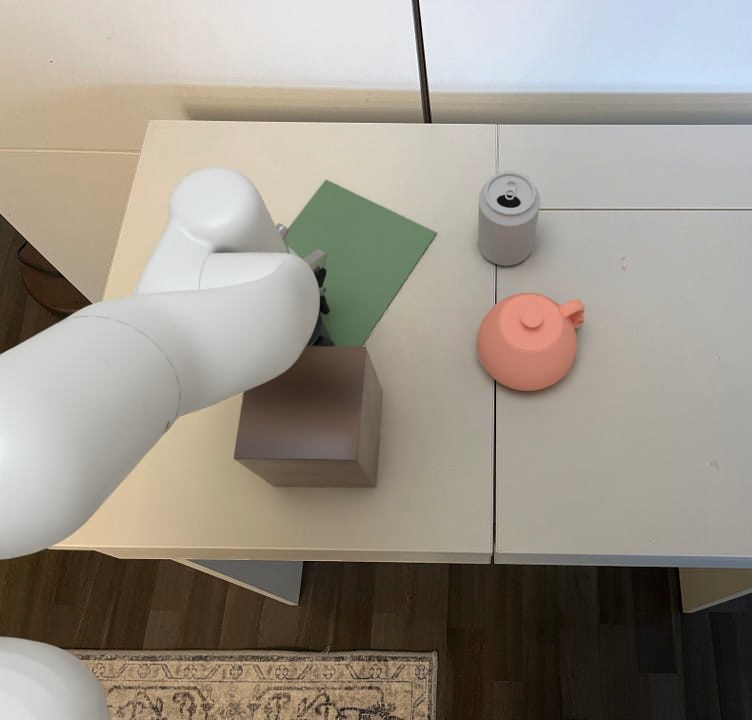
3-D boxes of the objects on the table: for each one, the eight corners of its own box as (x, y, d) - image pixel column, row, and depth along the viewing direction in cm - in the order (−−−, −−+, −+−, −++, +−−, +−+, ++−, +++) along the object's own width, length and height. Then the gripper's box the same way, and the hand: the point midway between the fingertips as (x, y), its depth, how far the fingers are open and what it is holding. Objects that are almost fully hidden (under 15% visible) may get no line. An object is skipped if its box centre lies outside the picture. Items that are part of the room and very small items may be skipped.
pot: (322, 389, 81) (311, 370, 75) (251, 351, 82) (234, 330, 77) (354, 340, 83) (346, 318, 77) (284, 305, 85) (271, 281, 79)
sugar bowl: (460, 330, 84) (459, 292, 75) (557, 289, 87) (568, 248, 77) (502, 412, 80) (507, 384, 71) (602, 368, 83) (619, 335, 73)
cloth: (322, 405, 80) (322, 404, 80) (203, 340, 83) (202, 338, 83) (436, 234, 90) (436, 232, 89) (326, 181, 93) (325, 179, 92)
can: (473, 264, 88) (473, 212, 77) (482, 217, 91) (484, 161, 80) (528, 273, 88) (537, 222, 76) (536, 225, 90) (545, 170, 79)
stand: (376, 487, 77) (357, 460, 64) (273, 486, 77) (233, 458, 64) (382, 390, 81) (366, 346, 68) (285, 389, 81) (250, 345, 68)
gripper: (273, 189, 68) (311, 270, 84) (168, 323, 63) (230, 382, 79) (334, 219, 67) (361, 296, 83) (233, 358, 61) (282, 411, 77)
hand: (297, 338), depth 81 cm, fingers open, 9 cm apart
